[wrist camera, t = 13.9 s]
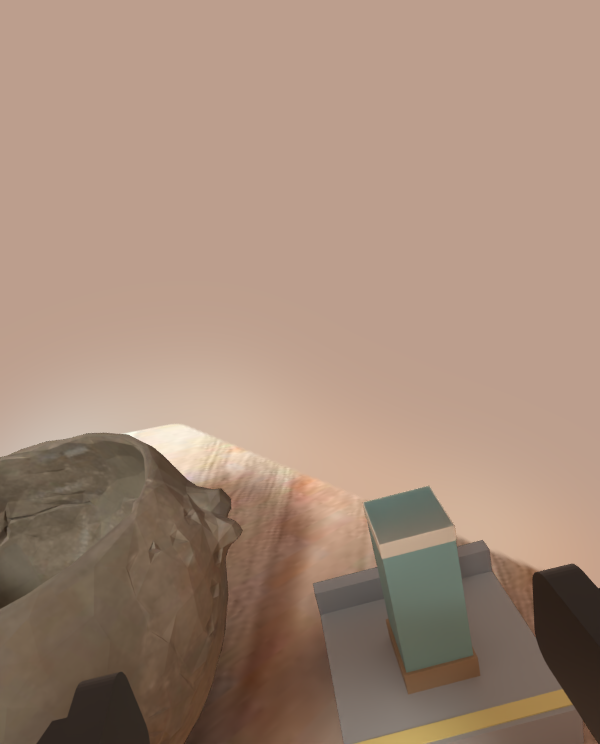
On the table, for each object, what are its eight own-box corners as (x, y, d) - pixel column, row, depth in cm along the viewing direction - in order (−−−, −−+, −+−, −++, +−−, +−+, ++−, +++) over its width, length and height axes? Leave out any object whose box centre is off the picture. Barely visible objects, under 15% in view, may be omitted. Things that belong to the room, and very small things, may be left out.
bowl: (348, 816, 32) (265, 536, 25) (-222, 1154, 24) (-555, 882, 17) (237, 557, 56) (181, 382, 50) (-61, 684, 49) (-174, 498, 42)
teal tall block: (408, 694, 34) (376, 547, 31) (389, 636, 39) (359, 501, 35) (480, 675, 35) (458, 526, 31) (453, 619, 39) (430, 483, 35)
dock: (358, 803, 32) (341, 744, 30) (326, 632, 44) (313, 583, 43) (584, 743, 32) (580, 681, 31) (489, 590, 45) (482, 540, 43)
